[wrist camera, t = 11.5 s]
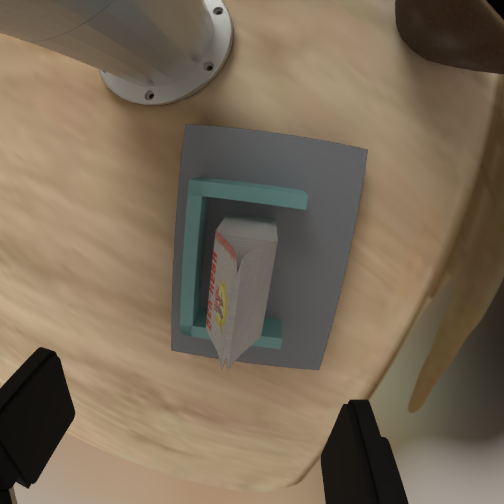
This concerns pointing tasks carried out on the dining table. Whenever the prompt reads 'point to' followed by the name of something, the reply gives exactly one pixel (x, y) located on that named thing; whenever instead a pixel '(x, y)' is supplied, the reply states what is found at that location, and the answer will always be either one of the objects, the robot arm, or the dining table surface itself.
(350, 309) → the dining table surface
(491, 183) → the dining table surface
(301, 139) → the dock
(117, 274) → the dining table surface
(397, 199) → the dining table surface
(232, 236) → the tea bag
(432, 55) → the plant pot
